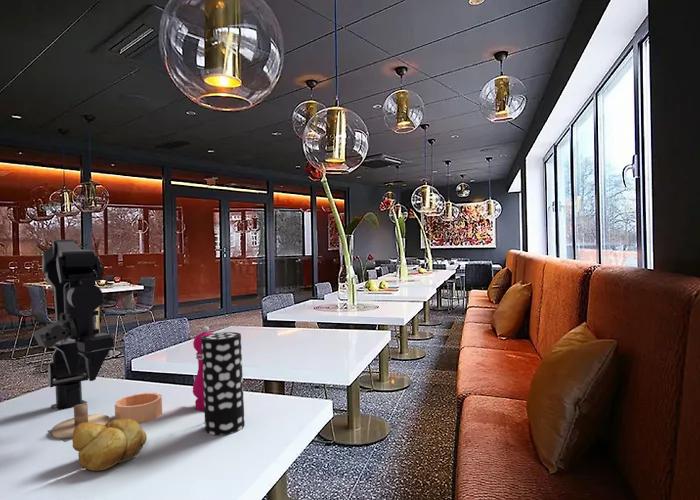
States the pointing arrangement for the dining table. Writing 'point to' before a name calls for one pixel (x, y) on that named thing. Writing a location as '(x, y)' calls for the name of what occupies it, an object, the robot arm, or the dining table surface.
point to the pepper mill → (199, 370)
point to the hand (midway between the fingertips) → (82, 377)
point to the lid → (77, 422)
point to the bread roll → (107, 443)
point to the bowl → (139, 407)
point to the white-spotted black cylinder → (223, 383)
